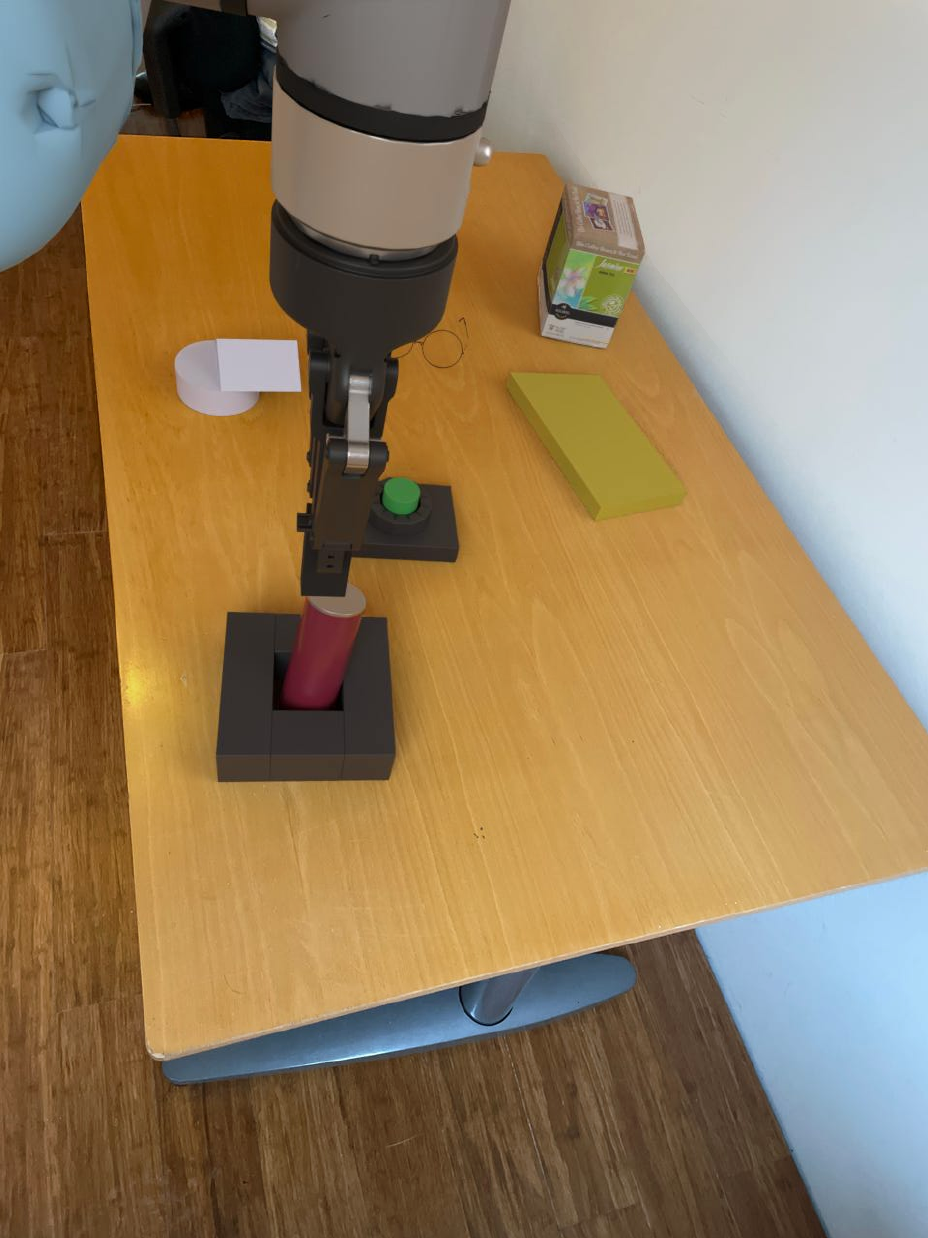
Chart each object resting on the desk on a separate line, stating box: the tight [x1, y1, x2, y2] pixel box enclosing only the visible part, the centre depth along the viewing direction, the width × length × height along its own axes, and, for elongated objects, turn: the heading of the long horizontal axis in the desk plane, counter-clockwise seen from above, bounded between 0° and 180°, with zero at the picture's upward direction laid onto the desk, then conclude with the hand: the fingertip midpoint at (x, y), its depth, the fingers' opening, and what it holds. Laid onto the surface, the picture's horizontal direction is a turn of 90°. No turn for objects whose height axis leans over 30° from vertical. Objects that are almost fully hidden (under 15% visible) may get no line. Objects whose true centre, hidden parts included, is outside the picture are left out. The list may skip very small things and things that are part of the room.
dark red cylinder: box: [277, 582, 367, 711], centre depth 66 cm, size 5×5×12 cm
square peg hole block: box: [215, 611, 397, 783], centre depth 68 cm, size 14×14×4 cm
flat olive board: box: [505, 371, 688, 522], centre depth 99 cm, size 12×2×24 cm
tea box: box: [536, 182, 646, 349], centre depth 111 cm, size 15×10×15 cm, turn 179°
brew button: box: [382, 476, 420, 515], centre depth 81 cm, size 4×4×2 cm
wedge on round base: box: [174, 338, 302, 417], centre depth 90 cm, size 9×7×13 cm
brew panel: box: [352, 476, 460, 563], centre depth 83 cm, size 12×9×4 cm
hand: (322, 586), depth 50 cm, fingers closed
